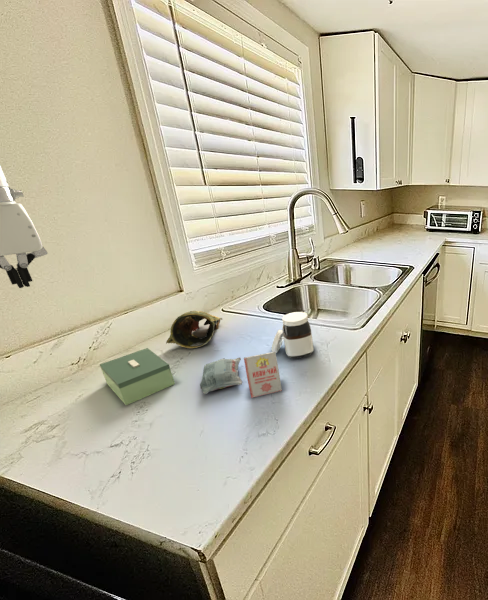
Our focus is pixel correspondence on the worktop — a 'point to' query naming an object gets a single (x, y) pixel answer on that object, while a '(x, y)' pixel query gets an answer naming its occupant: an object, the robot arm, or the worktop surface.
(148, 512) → the worktop surface
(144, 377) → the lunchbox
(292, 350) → the spread jar
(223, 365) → the packaged food
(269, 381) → the cream red carton
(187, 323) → the pot
